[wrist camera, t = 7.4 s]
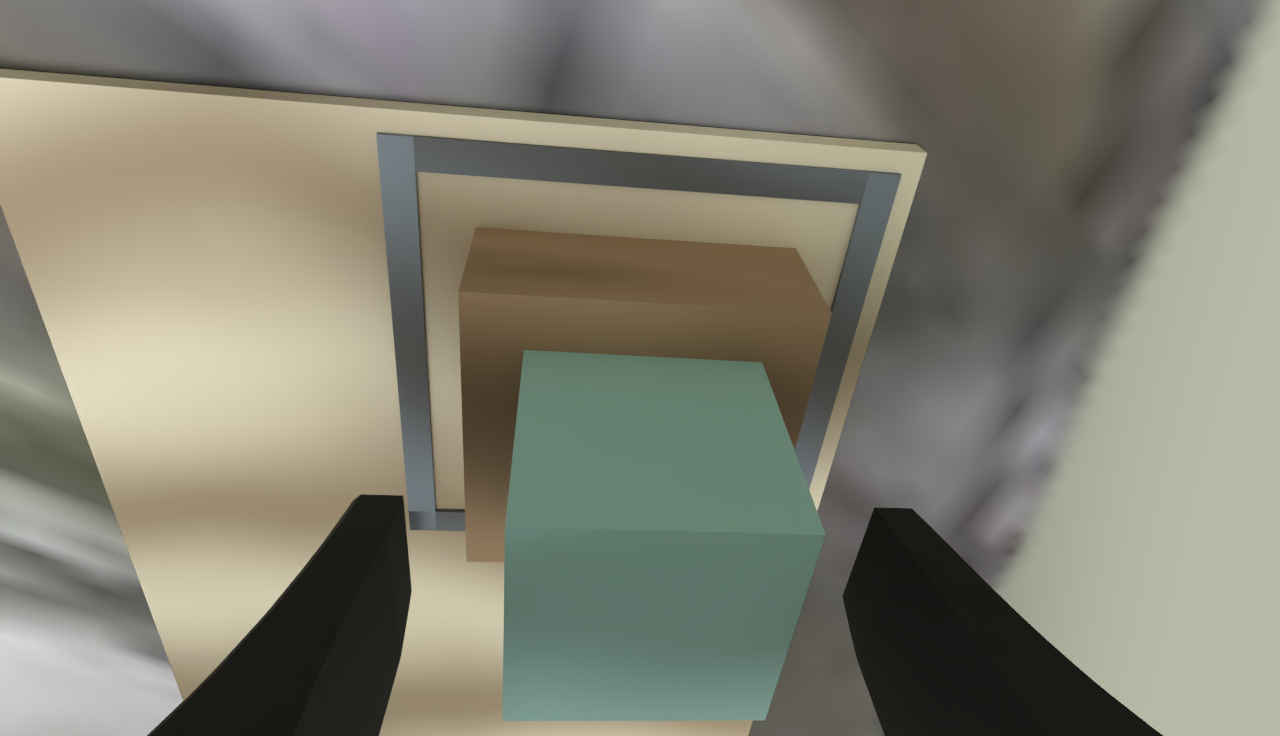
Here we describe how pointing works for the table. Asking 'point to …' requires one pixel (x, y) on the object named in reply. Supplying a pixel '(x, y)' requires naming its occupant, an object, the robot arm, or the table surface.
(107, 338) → the build board
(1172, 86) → the table surface
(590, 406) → the teal block
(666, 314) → the walnut slab
